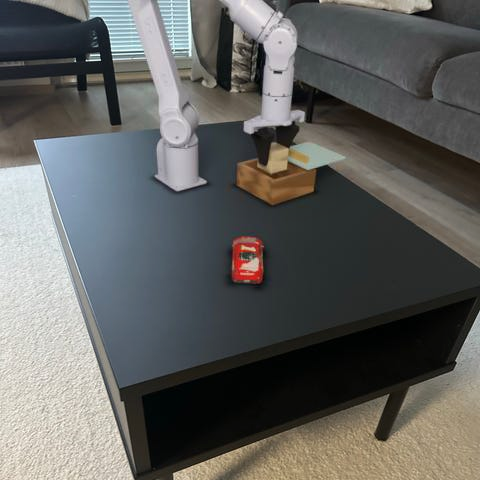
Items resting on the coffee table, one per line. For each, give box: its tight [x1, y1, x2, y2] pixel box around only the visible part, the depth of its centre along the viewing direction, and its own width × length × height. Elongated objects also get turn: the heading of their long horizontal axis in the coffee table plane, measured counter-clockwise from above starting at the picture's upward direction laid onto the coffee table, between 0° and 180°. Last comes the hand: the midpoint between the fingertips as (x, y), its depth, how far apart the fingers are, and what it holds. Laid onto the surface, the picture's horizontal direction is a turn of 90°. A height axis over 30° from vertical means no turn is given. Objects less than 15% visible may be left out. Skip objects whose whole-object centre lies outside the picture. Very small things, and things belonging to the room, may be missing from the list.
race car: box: [231, 235, 265, 285], centre depth 84 cm, size 13×5×4 cm, turn 178°
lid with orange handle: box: [288, 141, 347, 170], centre depth 111 cm, size 12×12×2 cm
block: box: [257, 141, 289, 174], centre depth 105 cm, size 4×4×4 cm
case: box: [236, 157, 317, 206], centre depth 108 cm, size 12×12×5 cm
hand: (271, 161), depth 105 cm, fingers closed on block, 4 cm apart
